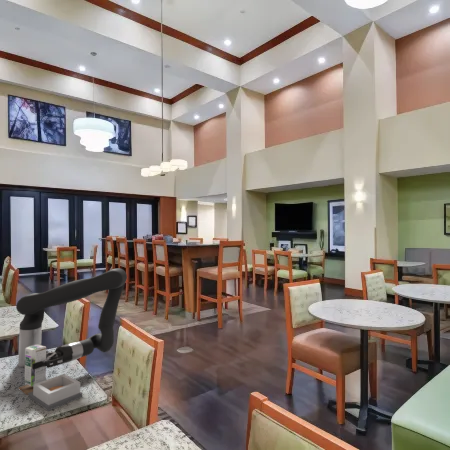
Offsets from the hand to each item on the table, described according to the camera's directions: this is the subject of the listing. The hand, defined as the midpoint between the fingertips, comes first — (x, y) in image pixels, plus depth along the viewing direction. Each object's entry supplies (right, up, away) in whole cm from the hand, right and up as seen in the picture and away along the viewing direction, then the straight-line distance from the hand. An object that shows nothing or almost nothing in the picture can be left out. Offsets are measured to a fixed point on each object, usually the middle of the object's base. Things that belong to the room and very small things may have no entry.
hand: (28, 364), depth 132 cm
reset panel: (+13, -10, -5) cm, 17 cm away
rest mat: (+1, -10, +2) cm, 11 cm away
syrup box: (+2, -8, +2) cm, 9 cm away
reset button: (+14, -10, -5) cm, 18 cm away
